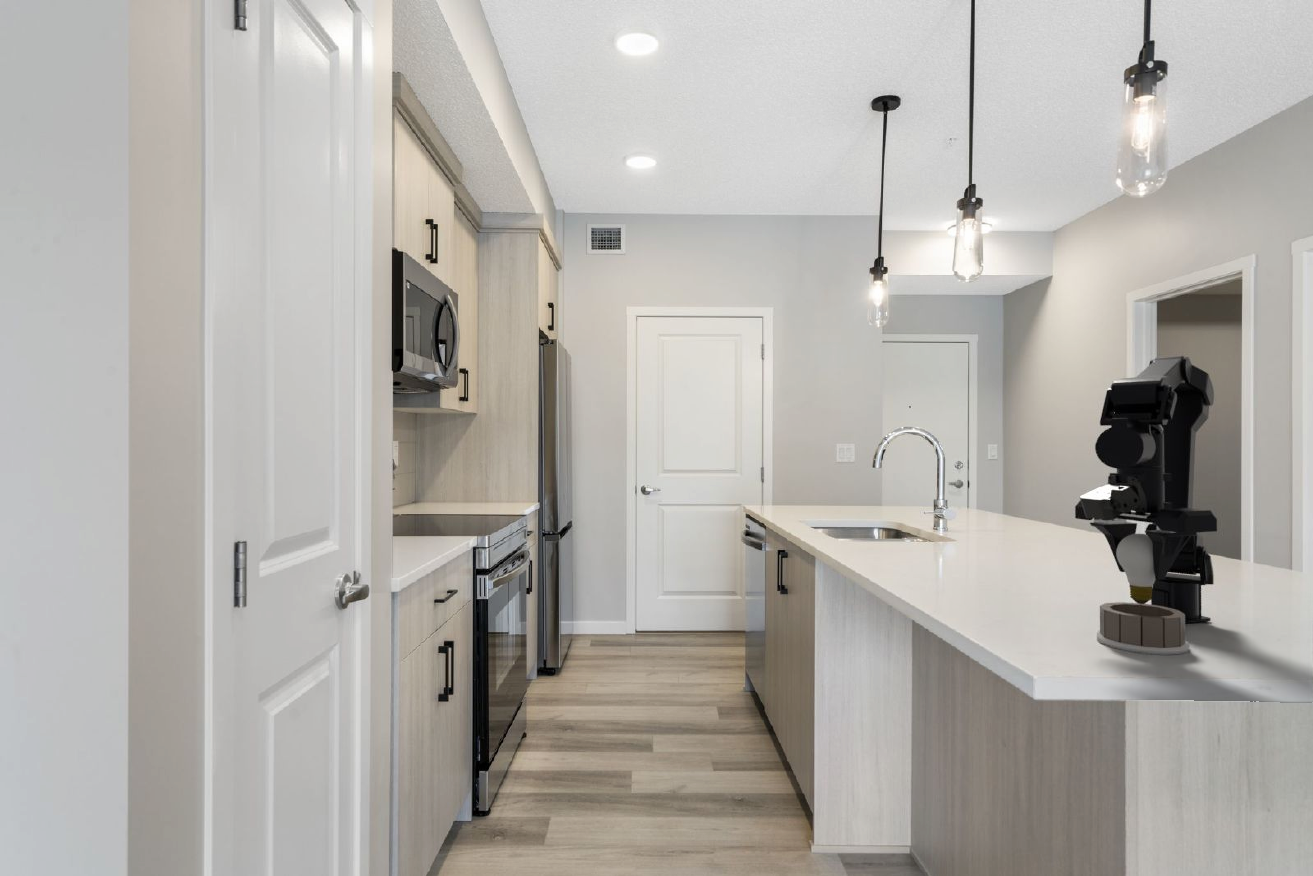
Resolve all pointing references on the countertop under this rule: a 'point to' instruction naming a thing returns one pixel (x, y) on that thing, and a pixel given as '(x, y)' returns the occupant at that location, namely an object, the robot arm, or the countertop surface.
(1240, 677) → the countertop surface
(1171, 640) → the socket
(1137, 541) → the light bulb
